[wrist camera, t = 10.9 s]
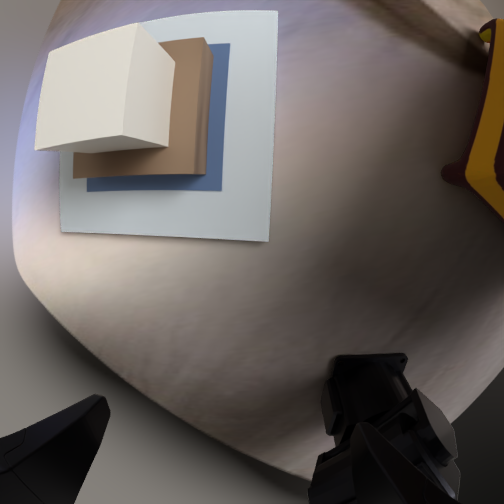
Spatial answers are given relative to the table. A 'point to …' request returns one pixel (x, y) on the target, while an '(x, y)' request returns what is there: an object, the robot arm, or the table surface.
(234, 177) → the board
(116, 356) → the table surface
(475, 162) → the decorative lantern
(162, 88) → the plastic cube
